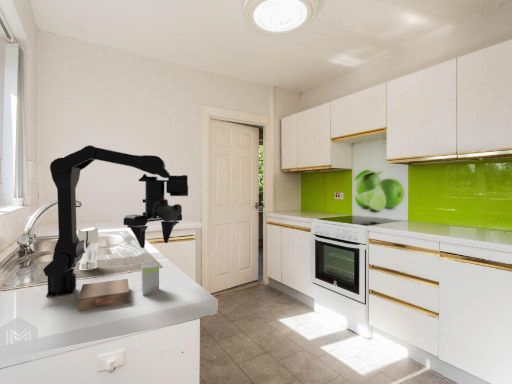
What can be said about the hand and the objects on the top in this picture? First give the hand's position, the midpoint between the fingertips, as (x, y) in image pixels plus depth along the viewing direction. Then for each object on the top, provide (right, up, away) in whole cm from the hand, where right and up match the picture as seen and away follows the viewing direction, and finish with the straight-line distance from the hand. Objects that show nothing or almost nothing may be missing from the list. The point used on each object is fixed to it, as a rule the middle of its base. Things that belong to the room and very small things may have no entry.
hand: (154, 245), depth 92 cm
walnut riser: (-10, -13, -10) cm, 20 cm away
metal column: (0, -13, -5) cm, 14 cm away
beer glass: (-32, -13, +19) cm, 40 cm away
